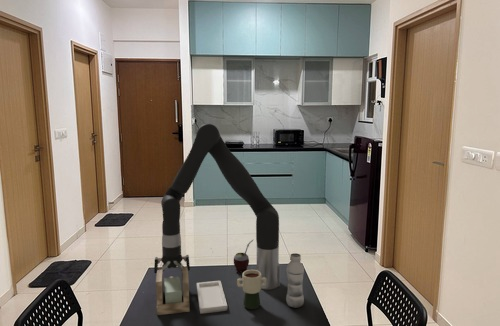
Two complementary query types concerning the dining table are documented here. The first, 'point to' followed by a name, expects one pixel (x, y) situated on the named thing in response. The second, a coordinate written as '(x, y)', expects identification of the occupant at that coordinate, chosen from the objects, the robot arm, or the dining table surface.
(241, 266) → the mate gourd
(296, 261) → the plastic bottle
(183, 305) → the bay
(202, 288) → the tray
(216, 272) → the dining table surface
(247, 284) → the character mug
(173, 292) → the green block with tab
